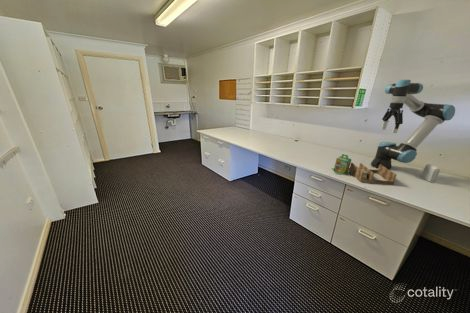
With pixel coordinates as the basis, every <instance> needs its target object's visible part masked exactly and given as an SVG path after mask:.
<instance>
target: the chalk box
mask: <svg viewBox="0 0 470 313" xmlns="http://www.w3.org/2000/svg"><path fill="white" fill-rule="evenodd" d="M351 163H352V158H349V155H347V154H344V153H343V154H341V156H339V157H337V158H336V160H335V164H334V167H333V168H334V171H336V172H340V173H343V174H345V173H347V172H350V171H349V168H350V165H351ZM334 171H333V172H334Z"/></svg>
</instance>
